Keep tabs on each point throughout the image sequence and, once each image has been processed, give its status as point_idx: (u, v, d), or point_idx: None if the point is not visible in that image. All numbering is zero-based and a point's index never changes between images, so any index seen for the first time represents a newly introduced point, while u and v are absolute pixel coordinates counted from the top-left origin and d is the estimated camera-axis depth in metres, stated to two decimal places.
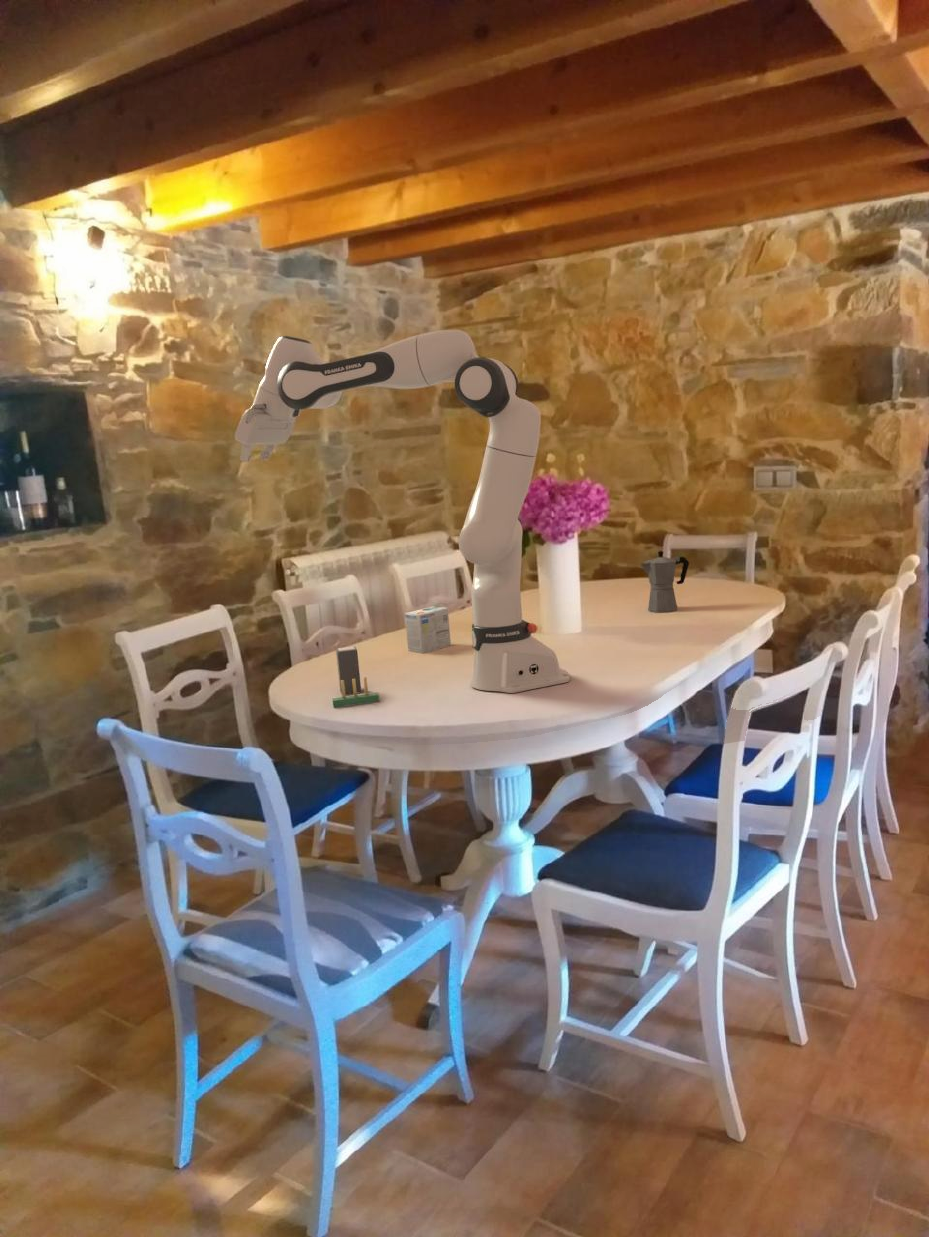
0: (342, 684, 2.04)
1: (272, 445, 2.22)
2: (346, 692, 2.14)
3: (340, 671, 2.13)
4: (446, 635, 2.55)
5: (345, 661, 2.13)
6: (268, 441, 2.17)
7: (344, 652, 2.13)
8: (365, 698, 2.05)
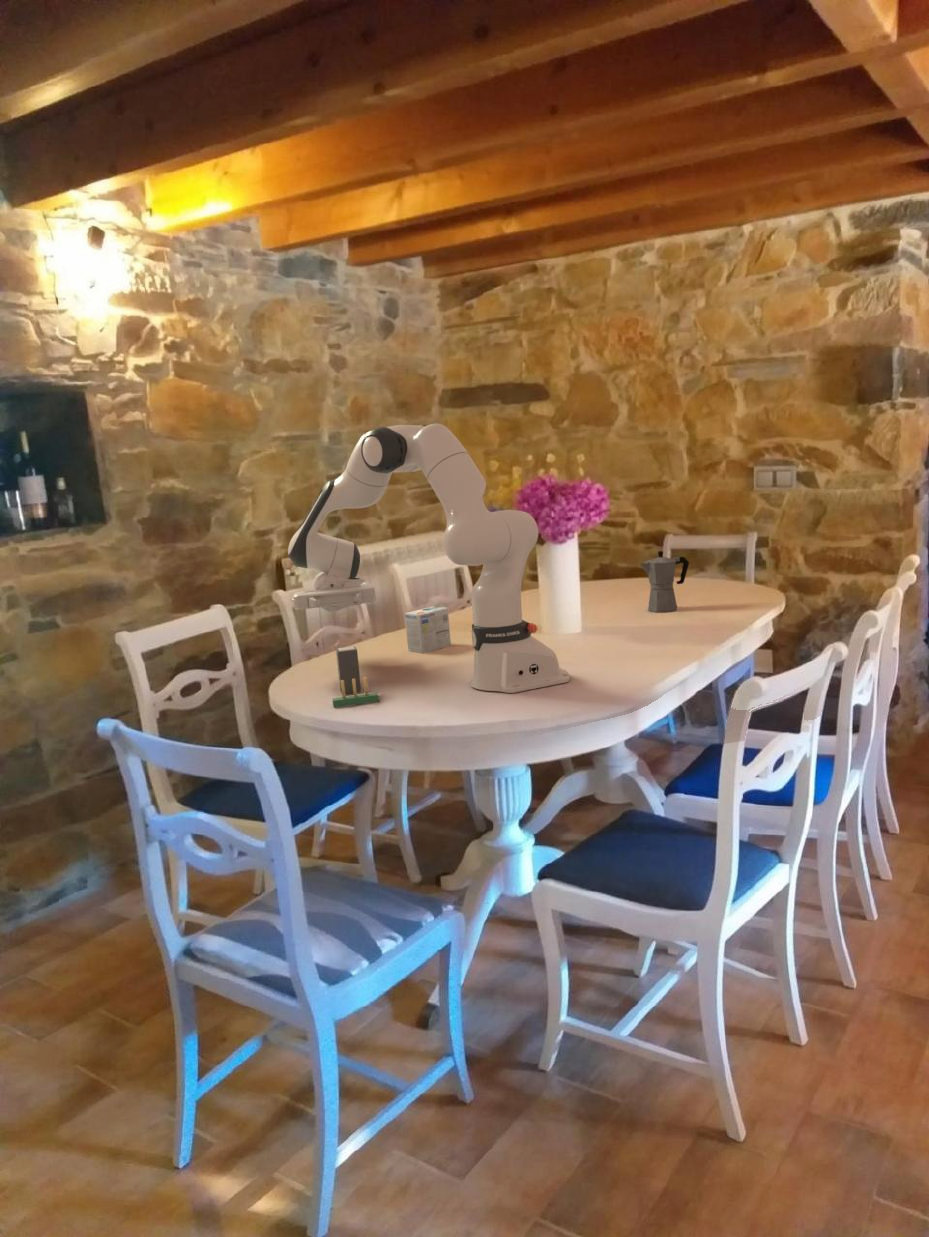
0: (342, 684, 2.04)
1: (356, 594, 2.29)
2: (346, 692, 2.14)
3: (340, 671, 2.13)
4: (446, 635, 2.55)
5: (345, 661, 2.13)
6: (334, 591, 2.30)
7: (344, 652, 2.13)
8: (365, 698, 2.05)
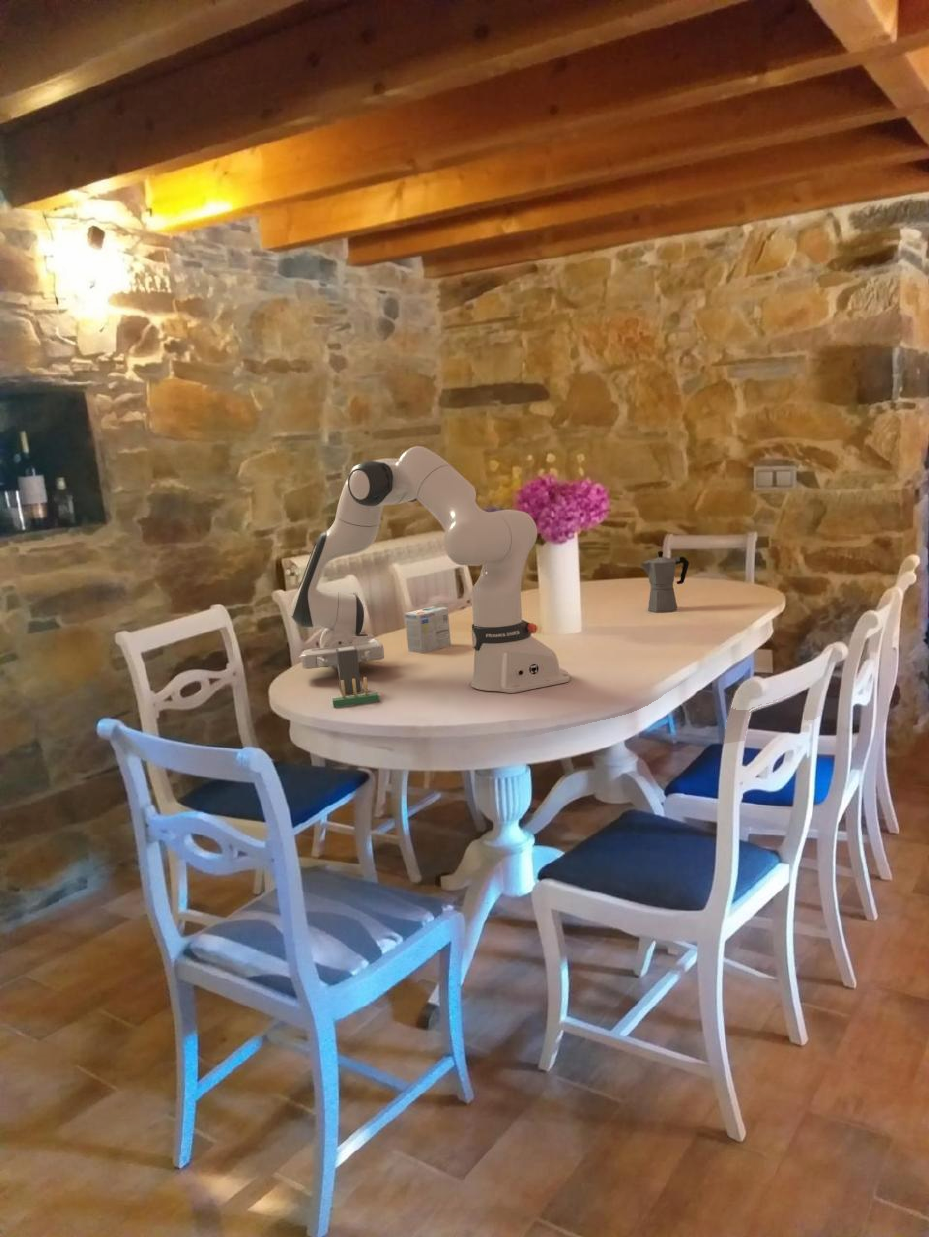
0: (342, 684, 2.04)
1: (364, 652, 2.28)
2: (346, 692, 2.14)
3: (340, 671, 2.13)
4: (446, 635, 2.55)
5: (345, 661, 2.13)
6: None
7: (344, 652, 2.13)
8: (365, 698, 2.05)
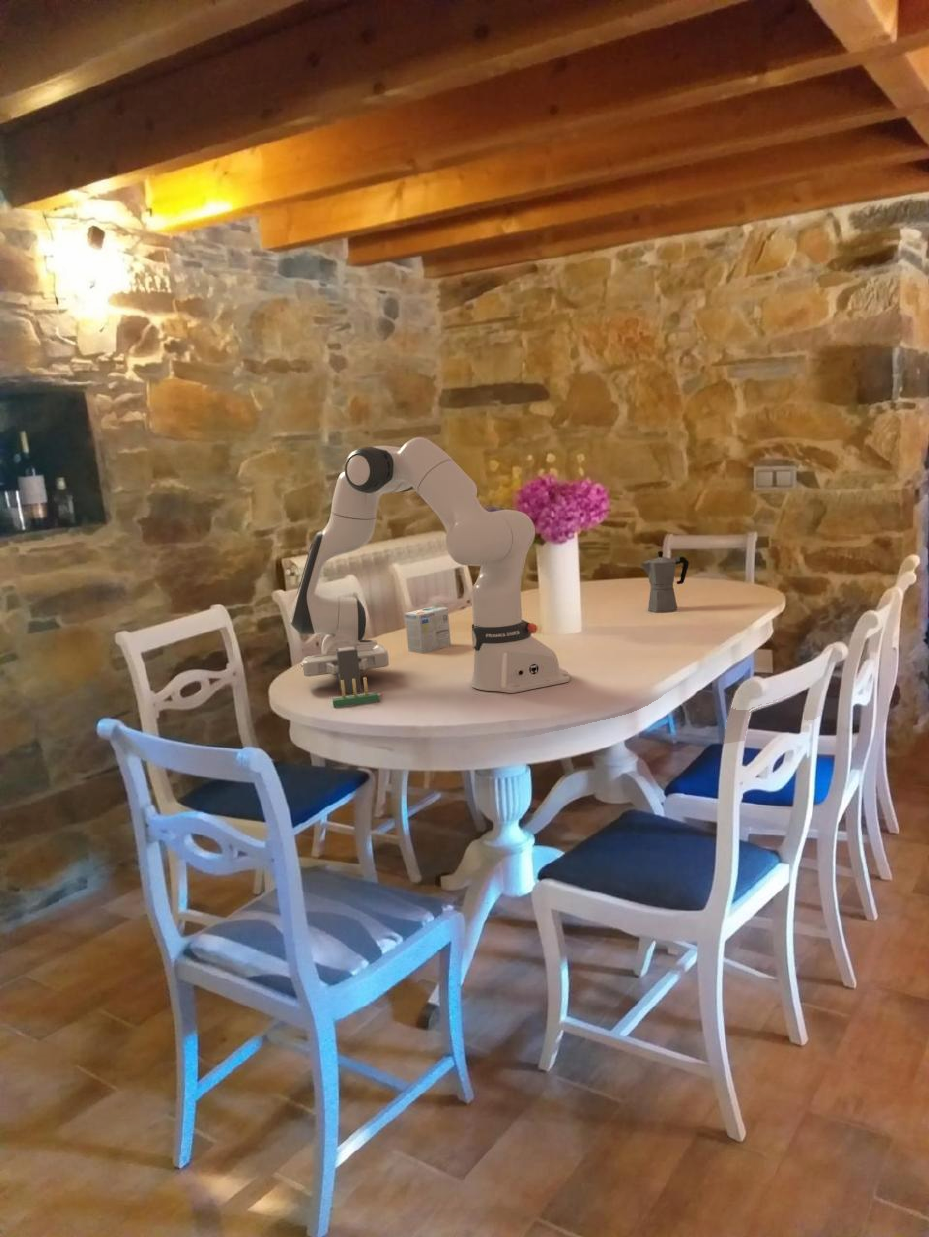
0: (342, 684, 2.04)
1: (361, 660, 2.19)
2: (346, 692, 2.14)
3: (340, 671, 2.13)
4: (446, 635, 2.55)
5: (345, 661, 2.13)
6: None
7: (344, 652, 2.13)
8: (365, 698, 2.05)
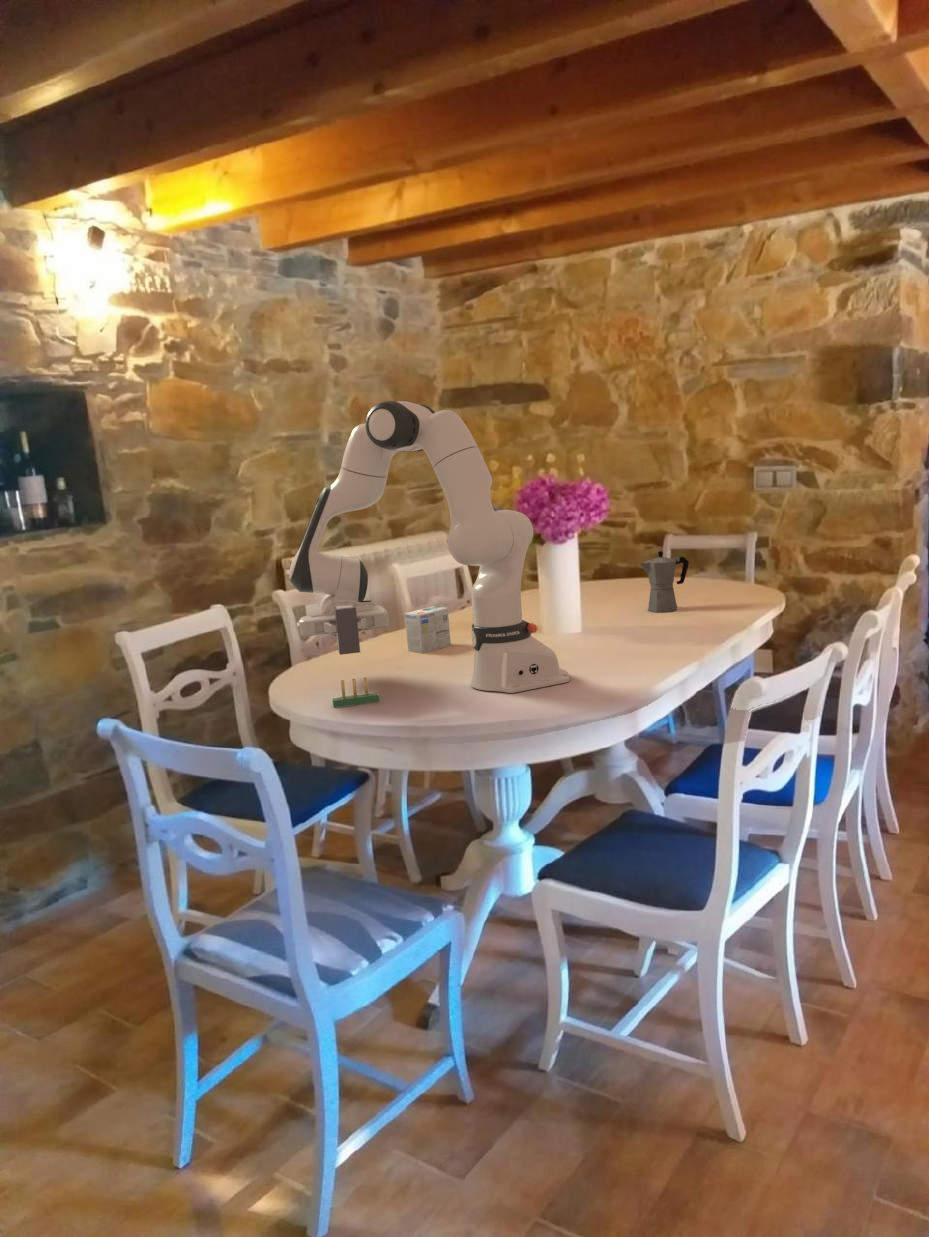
0: (342, 684, 2.04)
1: (360, 620, 2.10)
2: (344, 652, 2.05)
3: (338, 630, 2.04)
4: (446, 635, 2.55)
5: (344, 619, 2.04)
6: None
7: (342, 610, 2.04)
8: (365, 698, 2.05)
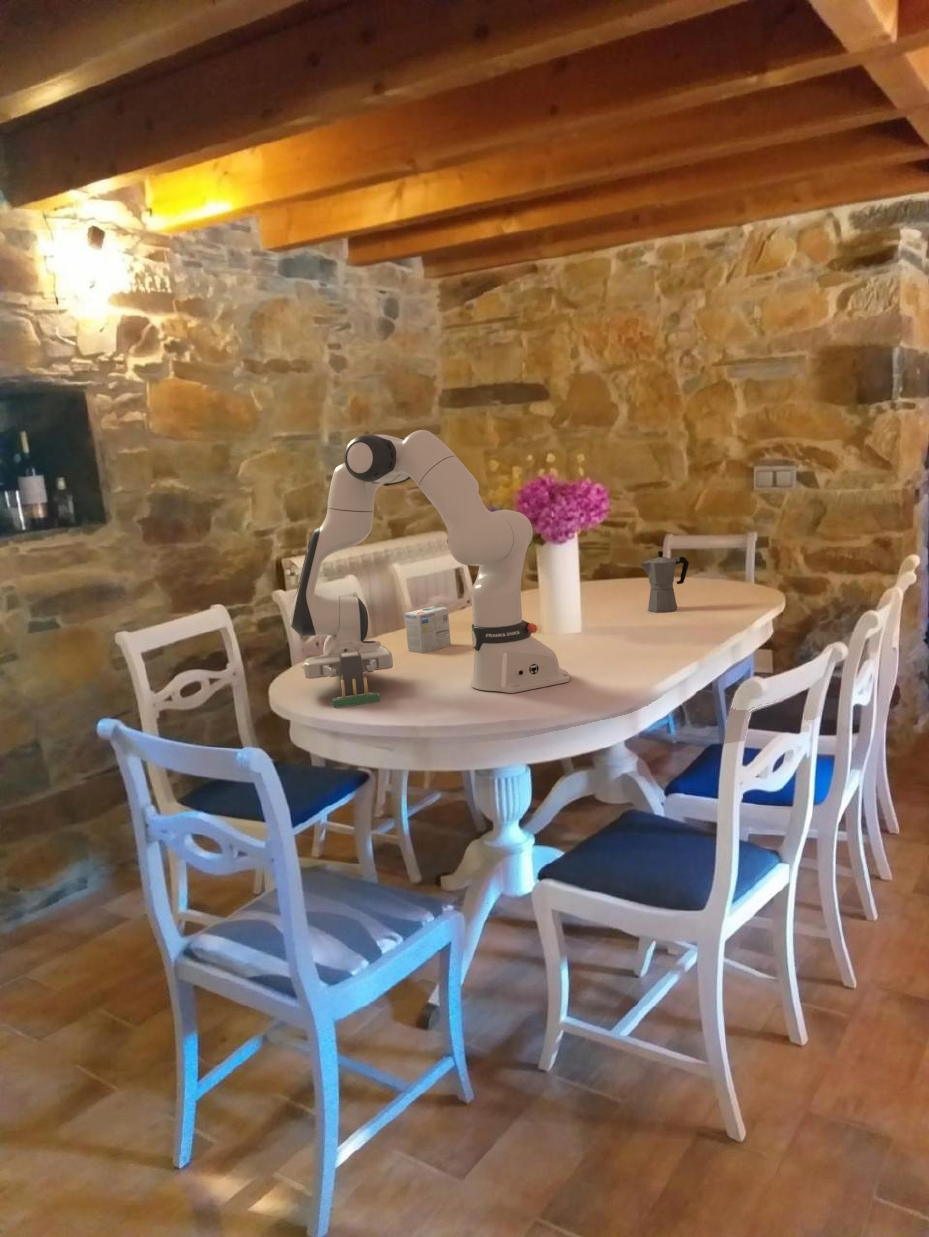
0: (342, 684, 2.04)
1: (369, 661, 2.12)
2: None
3: (343, 677, 2.06)
4: (446, 635, 2.55)
5: (349, 666, 2.06)
6: None
7: (347, 658, 2.06)
8: (365, 698, 2.05)
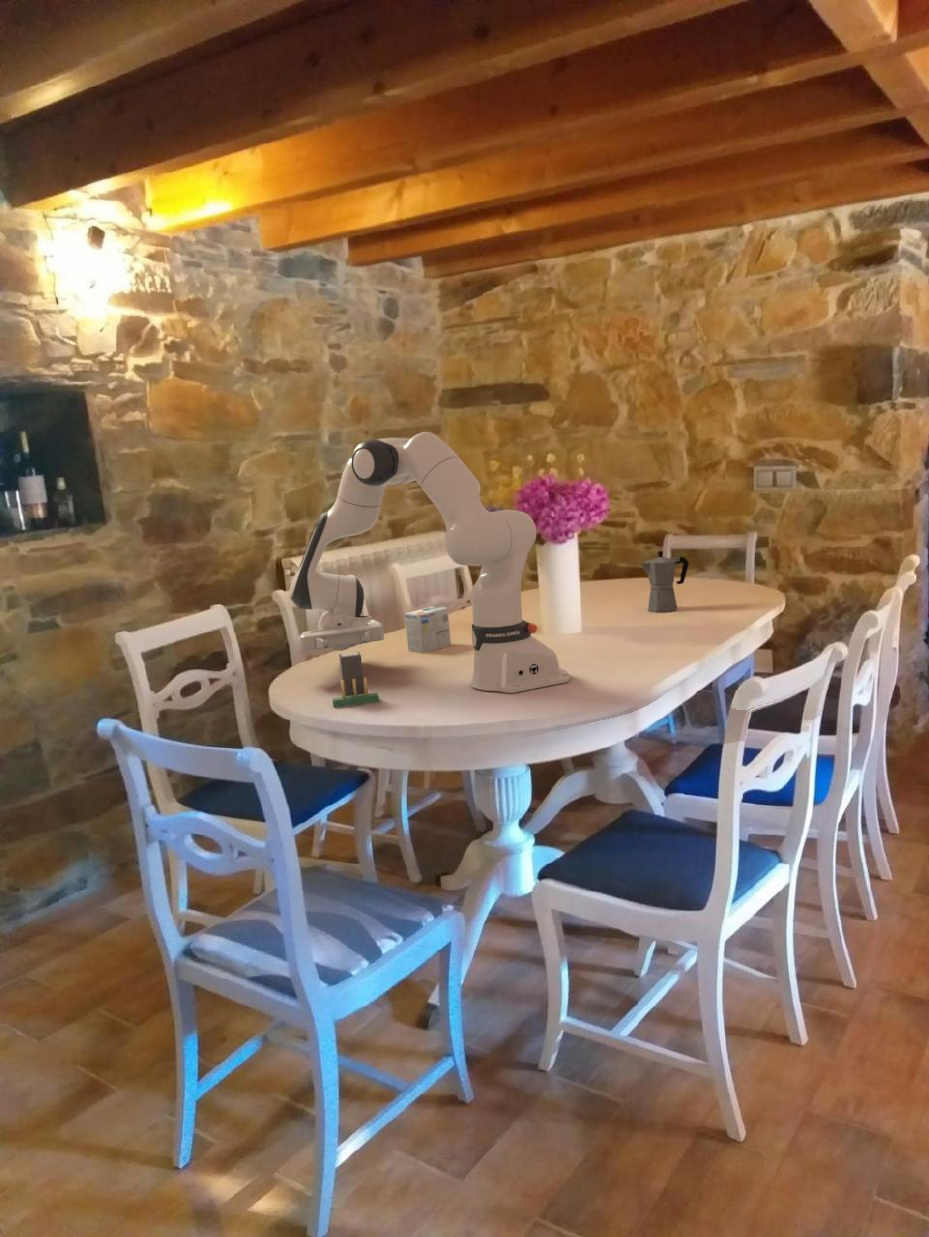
0: (342, 684, 2.04)
1: (364, 633, 2.24)
2: None
3: (343, 677, 2.06)
4: (446, 635, 2.55)
5: (349, 666, 2.06)
6: (341, 630, 2.25)
7: (347, 658, 2.06)
8: (365, 698, 2.05)
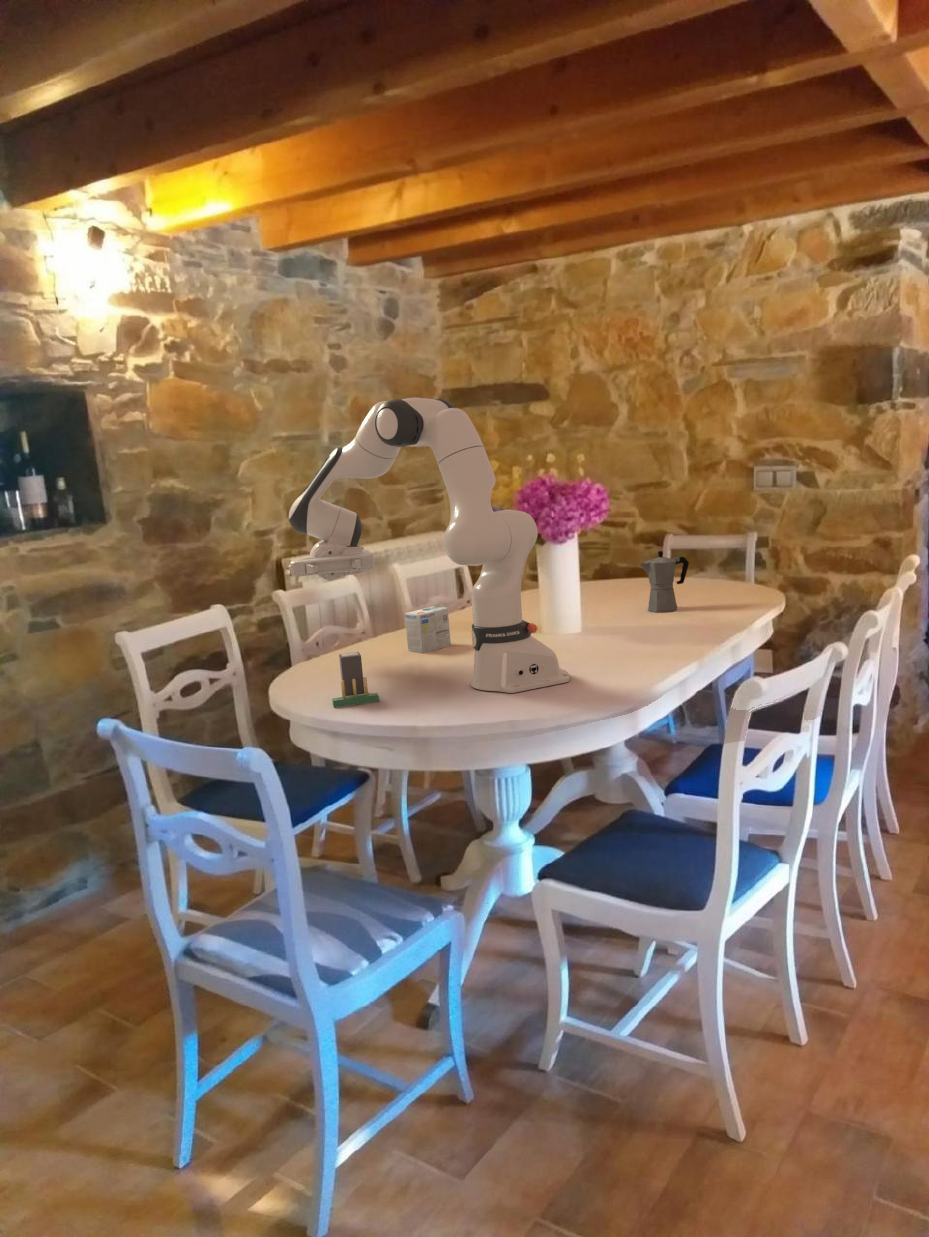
0: (342, 684, 2.04)
1: (354, 561, 2.24)
2: None
3: (343, 677, 2.06)
4: (446, 635, 2.55)
5: (349, 666, 2.06)
6: (332, 558, 2.24)
7: (347, 658, 2.06)
8: (365, 698, 2.05)
